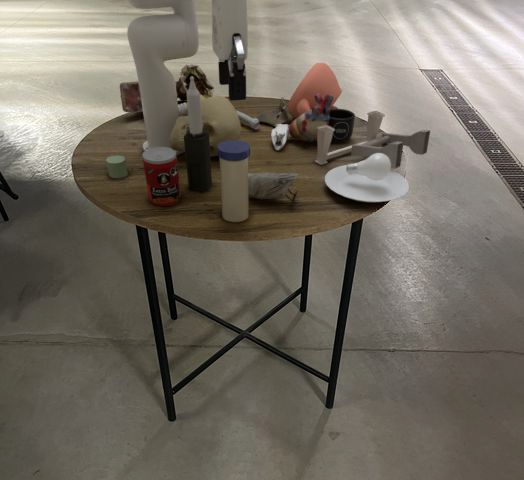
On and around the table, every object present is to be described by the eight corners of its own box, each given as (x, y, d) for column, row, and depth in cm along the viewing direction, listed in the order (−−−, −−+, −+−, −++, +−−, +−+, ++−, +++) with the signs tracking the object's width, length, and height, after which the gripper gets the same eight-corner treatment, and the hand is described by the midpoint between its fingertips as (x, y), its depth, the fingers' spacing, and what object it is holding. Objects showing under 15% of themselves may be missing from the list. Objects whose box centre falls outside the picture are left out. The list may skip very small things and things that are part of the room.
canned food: (151, 208, 113) (143, 162, 105) (147, 193, 118) (140, 148, 110) (183, 204, 114) (178, 159, 106) (178, 189, 120) (173, 145, 112)
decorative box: (169, 124, 166) (183, 126, 160) (113, 121, 155) (126, 123, 148) (169, 80, 160) (183, 81, 154) (111, 74, 149) (124, 74, 142)
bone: (228, 111, 158) (218, 115, 157) (227, 95, 154) (217, 99, 153) (261, 135, 150) (252, 139, 149) (261, 119, 146) (251, 123, 144)
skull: (168, 121, 120) (247, 118, 123) (162, 87, 129) (236, 85, 133) (172, 169, 131) (245, 165, 134) (167, 135, 140) (235, 132, 144)
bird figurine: (267, 124, 134) (274, 124, 143) (268, 151, 137) (275, 148, 146) (285, 124, 133) (290, 123, 142) (285, 150, 136) (291, 148, 145)
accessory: (305, 130, 147) (305, 134, 148) (285, 137, 143) (285, 141, 143) (327, 137, 143) (327, 141, 143) (307, 145, 138) (307, 148, 139)
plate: (346, 215, 111) (348, 206, 110) (310, 177, 125) (311, 169, 124) (423, 203, 117) (425, 194, 115) (380, 168, 131) (382, 160, 129)
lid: (217, 147, 103) (217, 139, 102) (250, 147, 104) (249, 139, 103) (216, 161, 99) (216, 153, 97) (250, 161, 99) (250, 153, 98)
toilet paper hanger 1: (311, 161, 133) (320, 166, 131) (315, 127, 126) (325, 132, 124) (369, 142, 143) (378, 147, 141) (376, 110, 136) (385, 114, 134)
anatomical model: (311, 131, 147) (330, 83, 135) (323, 150, 143) (344, 101, 131) (283, 130, 143) (301, 80, 131) (295, 149, 139) (314, 99, 127)
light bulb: (180, 117, 159) (208, 109, 159) (181, 125, 154) (211, 116, 154) (173, 97, 154) (203, 88, 154) (175, 104, 150) (205, 95, 150)
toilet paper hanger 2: (351, 138, 127) (349, 162, 130) (398, 144, 120) (395, 168, 123) (386, 126, 141) (383, 147, 144) (430, 130, 135) (426, 152, 138)
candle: (213, 183, 122) (207, 74, 105) (206, 192, 119) (198, 81, 101) (194, 180, 123) (185, 72, 106) (187, 189, 120) (176, 78, 102)
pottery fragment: (259, 127, 164) (252, 112, 162) (289, 110, 162) (282, 94, 159) (261, 140, 150) (253, 123, 147) (294, 121, 148) (286, 104, 145)
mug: (354, 144, 141) (358, 119, 136) (324, 144, 141) (327, 119, 136) (346, 129, 150) (349, 104, 145) (317, 129, 149) (319, 105, 144)
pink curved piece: (271, 125, 149) (304, 153, 151) (297, 81, 135) (333, 113, 137) (304, 89, 162) (334, 116, 164) (330, 45, 148) (363, 75, 150)
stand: (111, 170, 127) (107, 155, 124) (129, 170, 127) (126, 155, 124) (107, 178, 123) (104, 163, 120) (126, 178, 123) (123, 163, 121)
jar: (222, 208, 113) (219, 142, 102) (248, 208, 113) (248, 142, 103) (221, 222, 109) (218, 154, 98) (249, 222, 109) (248, 154, 98)
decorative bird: (235, 190, 120) (234, 161, 114) (298, 198, 117) (301, 169, 112) (229, 201, 116) (228, 171, 111) (294, 209, 114) (297, 179, 108)
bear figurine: (197, 55, 161) (172, 70, 168) (177, 72, 152) (151, 88, 159) (219, 94, 168) (194, 107, 175) (201, 113, 159) (176, 126, 167)
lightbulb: (342, 158, 117) (388, 154, 112) (349, 153, 122) (393, 149, 117) (344, 185, 120) (388, 182, 115) (350, 179, 125) (393, 176, 120)
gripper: (199, -27, 86) (205, 79, 98) (216, -11, 74) (221, 108, 86) (240, -28, 87) (241, 77, 99) (263, -12, 75) (262, 105, 87)
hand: (232, 91), depth 93 cm, fingers open, 9 cm apart
